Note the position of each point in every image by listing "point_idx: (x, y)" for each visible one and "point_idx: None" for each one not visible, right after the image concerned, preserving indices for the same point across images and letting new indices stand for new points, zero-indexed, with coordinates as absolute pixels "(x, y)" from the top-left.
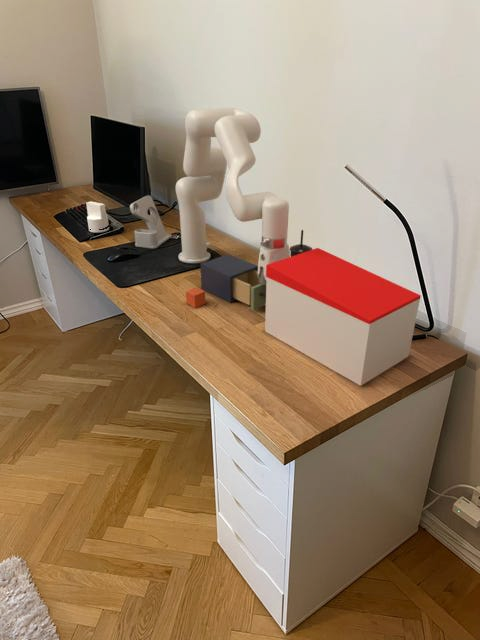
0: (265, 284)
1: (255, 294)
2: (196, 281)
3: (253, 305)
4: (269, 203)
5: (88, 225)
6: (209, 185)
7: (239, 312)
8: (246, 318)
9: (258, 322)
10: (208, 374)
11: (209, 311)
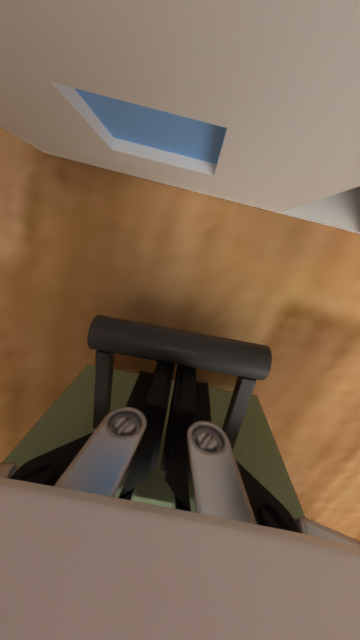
0: (318, 525)
1: (269, 464)
2: None
3: (263, 412)
4: None
5: None
6: None
7: (281, 427)
8: (317, 383)
9: (329, 323)
10: None
11: (328, 502)
